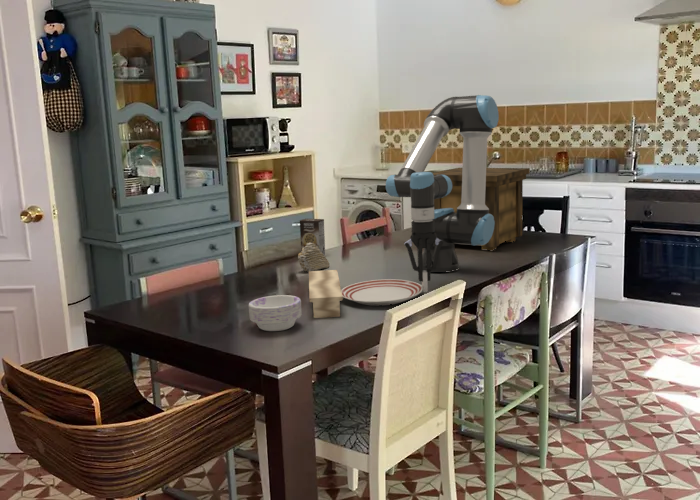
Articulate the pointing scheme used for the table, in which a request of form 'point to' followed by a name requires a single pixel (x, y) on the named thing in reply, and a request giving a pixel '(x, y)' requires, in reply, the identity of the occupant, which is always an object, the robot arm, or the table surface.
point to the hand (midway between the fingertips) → (424, 290)
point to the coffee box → (312, 233)
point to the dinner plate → (382, 291)
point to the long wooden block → (325, 293)
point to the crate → (493, 200)
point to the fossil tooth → (312, 258)
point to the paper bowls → (275, 312)
